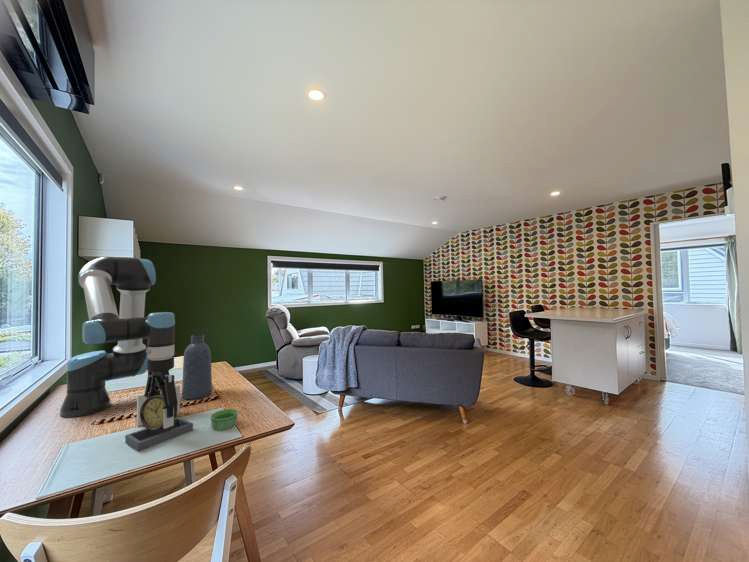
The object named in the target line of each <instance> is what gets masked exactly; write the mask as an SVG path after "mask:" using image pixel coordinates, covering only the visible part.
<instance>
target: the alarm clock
mask: <svg viewBox="0 0 749 562" xmlns="http://www.w3.org/2000/svg"><path fill="white" fill-rule="evenodd" d="M154 389H155V385H154ZM155 390H156V389H155ZM156 391H157V395H156V396H152V397H149V398H148V399H147V400H145V402H144V403H143V405H142V407H141V410H140V419H141V422H142V424H143V425H142V426H143V427H144V428H147V431H146V433H148V432H149V430H158V429H161V428H163V416H164V409H163V407H165V404H164V401H163V397H162V394H160V391H161V390H156ZM177 415H178V414H177V405H176V406H174V419H175V418H177ZM167 429H168V430H169V431H171V429H170V428H169V427H168V428H167Z"/></svg>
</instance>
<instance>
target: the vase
mask: <svg viewBox="0 0 749 562" xmlns="http://www.w3.org/2000/svg"><path fill="white" fill-rule="evenodd" d="M182 361H183V363H182V364H183V365H182V381H181V383H182V384H181V397H182V399H183V400H186V399H194V400H198V399H197V398H200V399H203V398H202V397H204V398H206V397H209V396H210V395H212V392H213V382H212V381H213V379H212V353H211V349H210V347H209V345H208V344H207V343H205V334H192V335H191V336H190V344H189V345H187V347H186V348H185V350H184V353H183V360H182ZM208 395H209V396H208ZM205 396H206V397H205Z"/></svg>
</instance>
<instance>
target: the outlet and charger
mask: <svg viewBox="0 0 749 562" xmlns="http://www.w3.org/2000/svg"><path fill="white" fill-rule="evenodd" d="M175 389H176V395H177V401H178V405H177V415H178V414H180V413H181V385H180V384H177V385H175ZM160 394H162V393H161V391H160ZM144 395H145V393H142V394H137V395H136V427H141V426H144V425H143V424H142V422H141V419H140V410H141V407H142V405H143V403H144V402H145V400H147V397H145V396H144Z"/></svg>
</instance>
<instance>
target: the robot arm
mask: <svg viewBox="0 0 749 562" xmlns="http://www.w3.org/2000/svg"><path fill="white" fill-rule="evenodd" d="M156 276H157V275H156V269H155V266H154V263H153V262H152V260H149V259H146V258H139V257H138V258H137V257H117V256H103V257H98V258H95V259H93V260H90V261H89V262H87V263H86V264H85V265H83V267H82V268H81V269H80V270H79V272H78V275H77V277H78V278H77V279H78V285H79V286H80V287H81V288H82V289H83V291H84V292H83V293H84V297H85V305H86V309H87V310H86V311H87V316H88V320H87V321H84V322H83V323H82V328H81V329H82V330H81V334H82V337H81V338H82V342H83V343H84V344H86V345H93V344H95V345H96V344H99V345H100V344H107V343H117V345H115V346H114V347H113V348H112V352H110V353H109V352H108V353H107V352H106V350H98V351H90V352H89V351H88V352H86V353H81V354H77V355H75V356H73V357H71V358H69V360H67V364H66V365H67V366H66V372H67V373H66V375H67V377H66V378H67V379H66V395H65V398H64V400H63V402H62V404H61V407H60V409H59V416H60V417H62V418H74V417H82V416H86V415H90V414H94V413H97V412H101V411H103V410H106V409H108V408H109V407H110V406H111V397H110V395H109V393H108V391H107V388H106V382H108V381H109V382H110V381H113V380H114V381H115V380H120V379H124V378H131V377H132V378H133V377H136V376H139V375H143V374H145V373H146V372H147V379H146V385H145V389H144V394H145V395H144V396H145V397H147V399H148V398H149V397H152V396H156V395H157V391H156V390H161V393H162V397H163V401H164V404H165V407H163V409H164V416H163V428H164V429H165V428H168V427H171V426H174V406H176V405H178V401H177V395H176V389H175V386H176V383H175V375H174V374H171V375H170V371H171V370H172V369H174V368H175V357H174V356H175V350H176V349H175V332H176V331H175V325H176V320H175V313H174V312H167V311H166V312H165V311H161V312H151V313H148V315H147V316H146V317H145V308H146V293H147V292H149V291H150V290H151V286H154V285H155V284H156V280H157V277H156ZM112 285H114V286H115V287H116V290H117V291H118V292H119V293H120V301H119V311H118V309H117V305H116V301H115V299H114V294H113V290H112ZM118 312H119V313H118ZM145 339H147V345H146V344H144V343H143V340H145ZM154 385H155V389H156V390H155V389H154Z"/></svg>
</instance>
